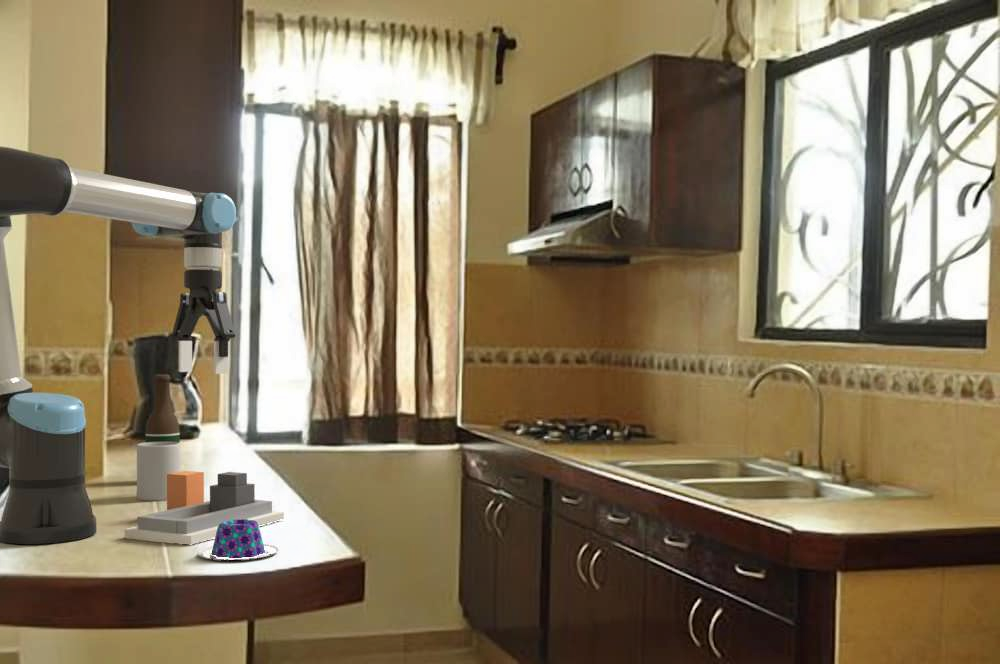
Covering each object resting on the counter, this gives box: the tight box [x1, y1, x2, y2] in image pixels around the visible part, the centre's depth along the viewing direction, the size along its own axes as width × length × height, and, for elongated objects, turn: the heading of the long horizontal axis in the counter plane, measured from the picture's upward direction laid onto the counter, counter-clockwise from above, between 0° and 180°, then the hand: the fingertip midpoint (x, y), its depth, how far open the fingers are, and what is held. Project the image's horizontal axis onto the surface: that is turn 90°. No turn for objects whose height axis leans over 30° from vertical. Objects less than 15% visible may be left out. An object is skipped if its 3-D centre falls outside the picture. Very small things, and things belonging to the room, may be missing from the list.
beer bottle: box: [145, 373, 181, 444], centre depth 241 cm, size 8×8×24 cm
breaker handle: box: [209, 471, 256, 513], centre depth 191 cm, size 5×6×7 cm
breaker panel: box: [124, 499, 285, 545], centre depth 185 cm, size 24×14×4 cm, turn 155°
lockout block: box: [166, 470, 205, 510], centre depth 198 cm, size 5×5×8 cm
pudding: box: [197, 519, 279, 562], centre depth 165 cm, size 12×12×5 cm
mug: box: [136, 442, 181, 502], centre depth 221 cm, size 12×8×11 cm
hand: (202, 372), depth 222 cm, fingers open, 13 cm apart
